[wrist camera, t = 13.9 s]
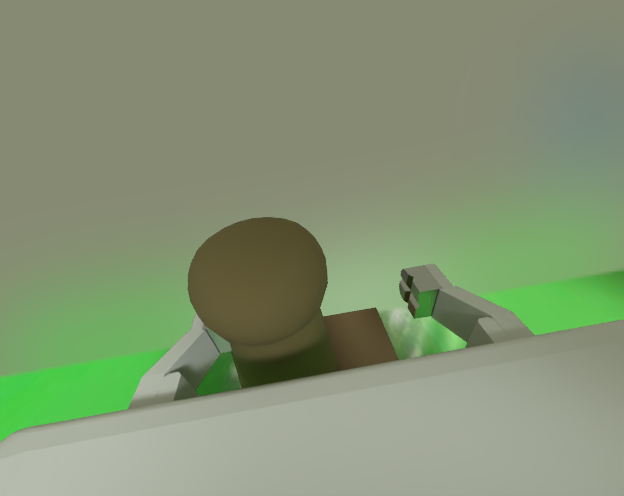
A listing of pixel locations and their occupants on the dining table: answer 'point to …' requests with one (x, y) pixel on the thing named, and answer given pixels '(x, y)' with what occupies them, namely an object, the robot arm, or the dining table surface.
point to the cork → (265, 299)
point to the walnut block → (359, 339)
